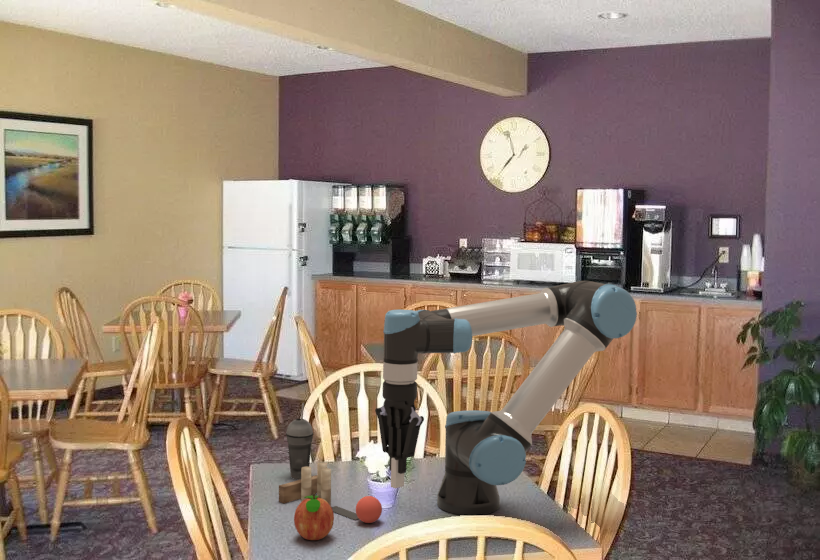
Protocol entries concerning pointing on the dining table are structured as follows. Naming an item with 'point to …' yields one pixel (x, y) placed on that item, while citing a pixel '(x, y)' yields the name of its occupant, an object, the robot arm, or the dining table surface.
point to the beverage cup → (299, 444)
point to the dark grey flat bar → (345, 512)
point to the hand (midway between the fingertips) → (397, 486)
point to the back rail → (295, 490)
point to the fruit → (313, 518)
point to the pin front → (326, 485)
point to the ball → (368, 509)
